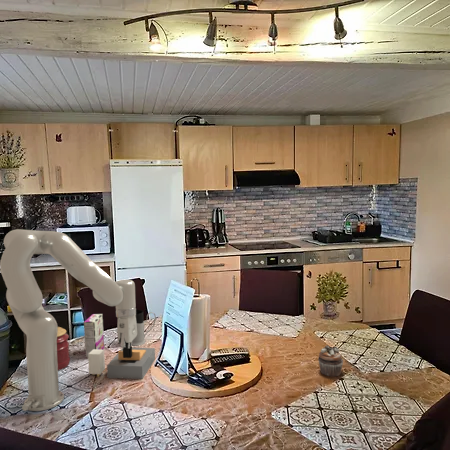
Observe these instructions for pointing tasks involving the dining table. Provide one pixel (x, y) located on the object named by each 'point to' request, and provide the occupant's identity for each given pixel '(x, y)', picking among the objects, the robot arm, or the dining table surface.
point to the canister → (62, 348)
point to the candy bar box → (94, 333)
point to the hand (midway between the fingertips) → (127, 356)
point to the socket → (131, 365)
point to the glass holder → (140, 328)
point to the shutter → (135, 355)
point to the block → (96, 362)
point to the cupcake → (330, 361)
